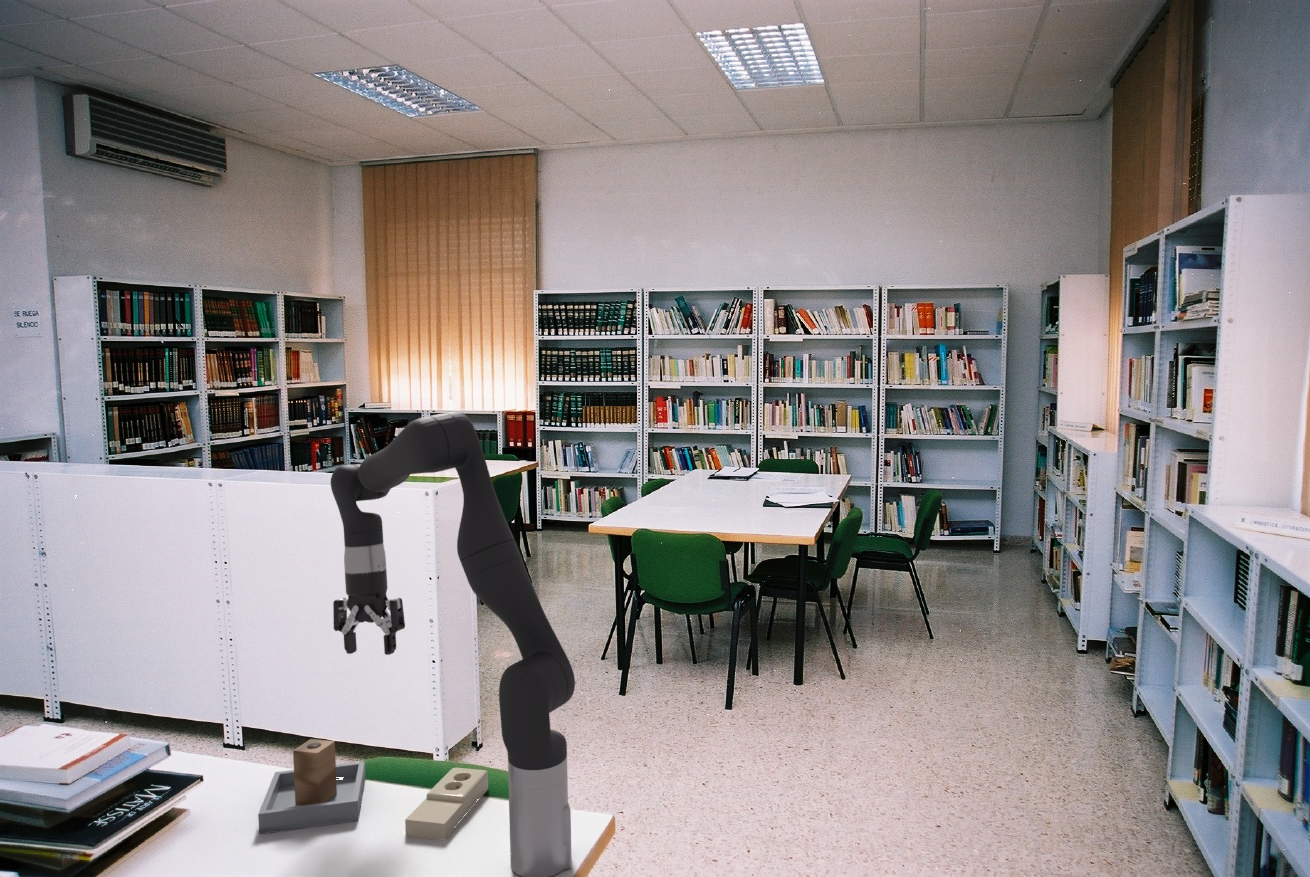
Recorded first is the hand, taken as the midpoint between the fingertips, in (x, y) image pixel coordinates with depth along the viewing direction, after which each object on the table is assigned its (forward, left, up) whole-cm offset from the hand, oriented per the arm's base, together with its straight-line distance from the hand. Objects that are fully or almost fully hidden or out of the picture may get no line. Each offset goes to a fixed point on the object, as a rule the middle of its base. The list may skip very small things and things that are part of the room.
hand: (370, 653), depth 160 cm
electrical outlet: (-14, +16, -26) cm, 33 cm away
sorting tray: (+10, +7, -25) cm, 28 cm away
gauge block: (+10, +7, -24) cm, 27 cm away
